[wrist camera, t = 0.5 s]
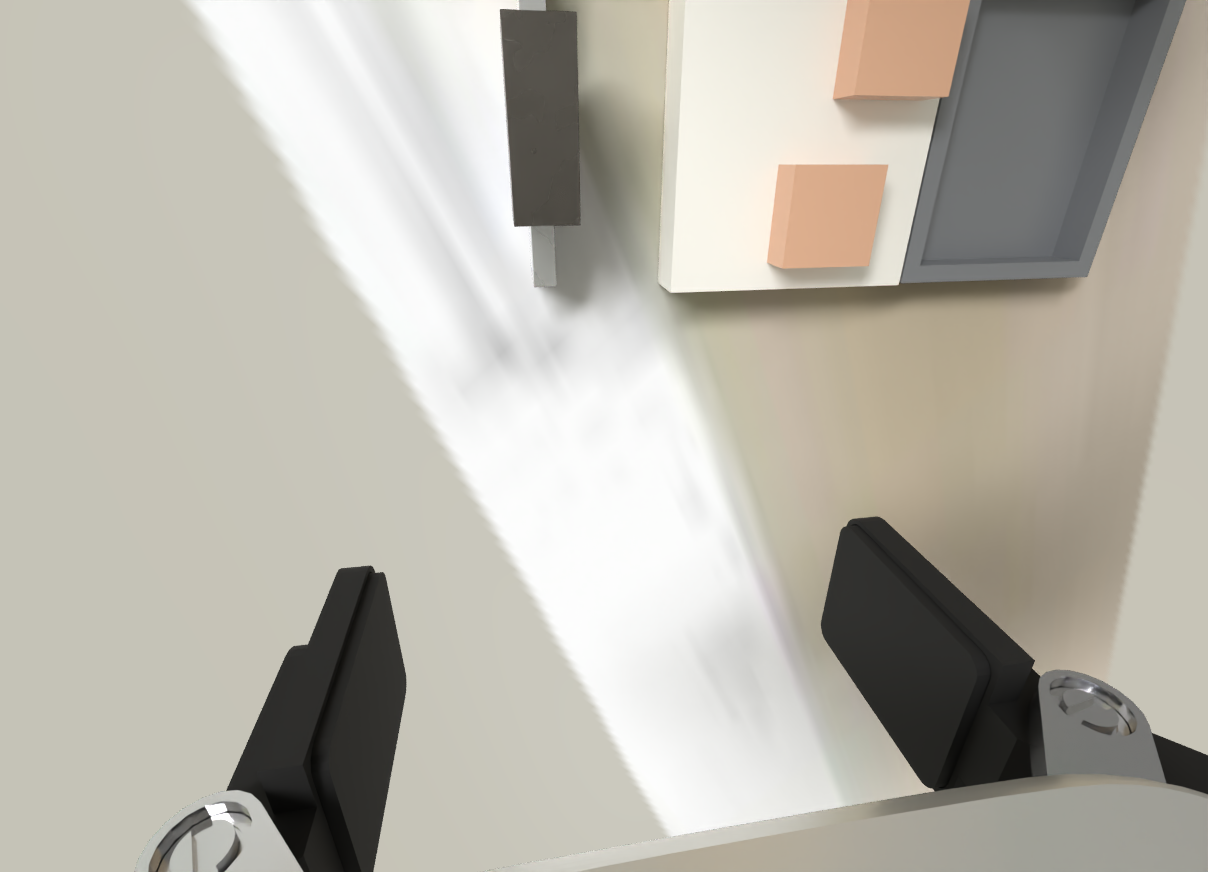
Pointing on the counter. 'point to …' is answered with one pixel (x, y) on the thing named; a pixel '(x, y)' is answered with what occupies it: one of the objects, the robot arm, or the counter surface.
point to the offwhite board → (771, 142)
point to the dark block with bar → (542, 125)
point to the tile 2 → (899, 49)
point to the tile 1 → (825, 214)
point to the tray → (1035, 136)
